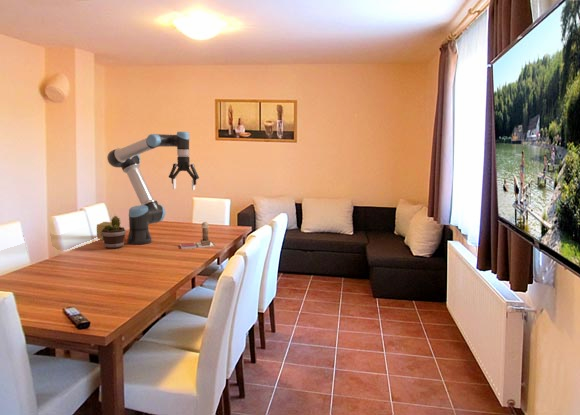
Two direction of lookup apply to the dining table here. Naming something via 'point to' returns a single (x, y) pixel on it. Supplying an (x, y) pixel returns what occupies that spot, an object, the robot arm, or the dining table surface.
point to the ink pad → (187, 245)
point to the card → (205, 246)
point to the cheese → (101, 226)
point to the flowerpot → (113, 234)
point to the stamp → (205, 234)
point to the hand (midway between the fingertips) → (183, 189)
